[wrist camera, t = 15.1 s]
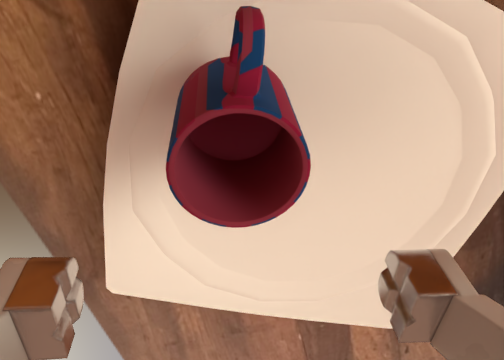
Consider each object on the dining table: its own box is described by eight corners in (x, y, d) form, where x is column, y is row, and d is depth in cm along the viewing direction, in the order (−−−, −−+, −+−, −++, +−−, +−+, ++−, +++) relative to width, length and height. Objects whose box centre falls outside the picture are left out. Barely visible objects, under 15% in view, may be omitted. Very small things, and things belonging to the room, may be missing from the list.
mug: (170, 150, 26) (158, 219, 20) (195, -22, 20) (188, 6, 15) (272, 166, 27) (288, 236, 21) (321, 9, 22) (358, 45, 16)
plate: (143, -124, 20) (134, -127, 18) (593, 34, 26) (627, 46, 24) (95, 275, 35) (87, 300, 33) (390, 316, 41) (400, 339, 39)
